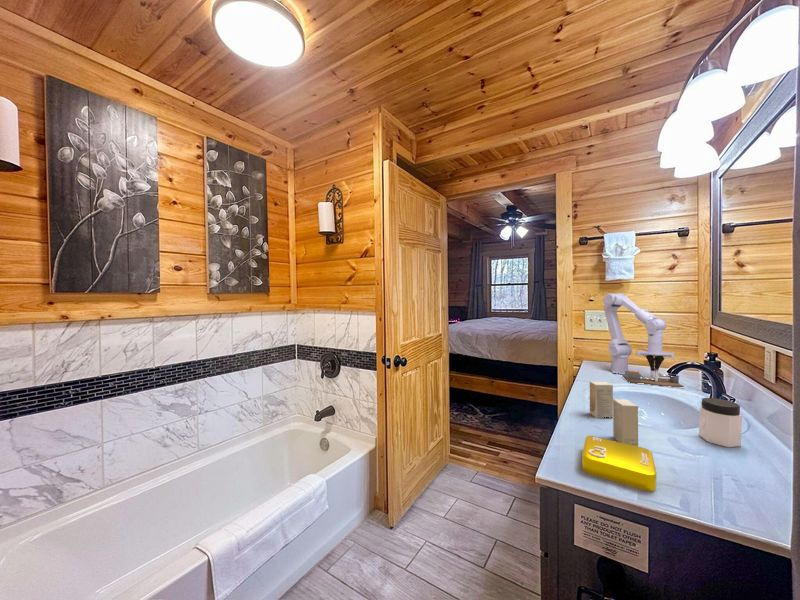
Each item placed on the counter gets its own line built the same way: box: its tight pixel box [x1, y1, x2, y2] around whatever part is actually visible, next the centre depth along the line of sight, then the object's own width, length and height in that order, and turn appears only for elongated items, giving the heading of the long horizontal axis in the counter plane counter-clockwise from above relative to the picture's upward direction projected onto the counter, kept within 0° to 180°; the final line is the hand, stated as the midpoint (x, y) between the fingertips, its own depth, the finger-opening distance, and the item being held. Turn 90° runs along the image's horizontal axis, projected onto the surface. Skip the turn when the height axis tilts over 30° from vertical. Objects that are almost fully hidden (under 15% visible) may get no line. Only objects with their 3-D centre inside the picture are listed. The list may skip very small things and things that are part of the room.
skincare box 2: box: [612, 398, 639, 447], centre depth 94 cm, size 6×4×12 cm
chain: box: [641, 367, 659, 382], centre depth 155 cm, size 6×10×6 cm, turn 68°
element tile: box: [581, 435, 658, 492], centre depth 81 cm, size 15×15×5 cm
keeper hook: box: [658, 372, 680, 384], centre depth 152 cm, size 4×7×4 cm, turn 68°
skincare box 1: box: [589, 381, 614, 419], centre depth 113 cm, size 6×4×12 cm
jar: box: [698, 397, 743, 448], centre depth 95 cm, size 9×8×12 cm
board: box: [621, 374, 685, 388], centre depth 154 cm, size 12×21×1 cm, turn 68°
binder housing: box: [624, 370, 642, 381], centre depth 157 cm, size 5×5×4 cm
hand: (654, 370), depth 153 cm, fingers closed on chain
